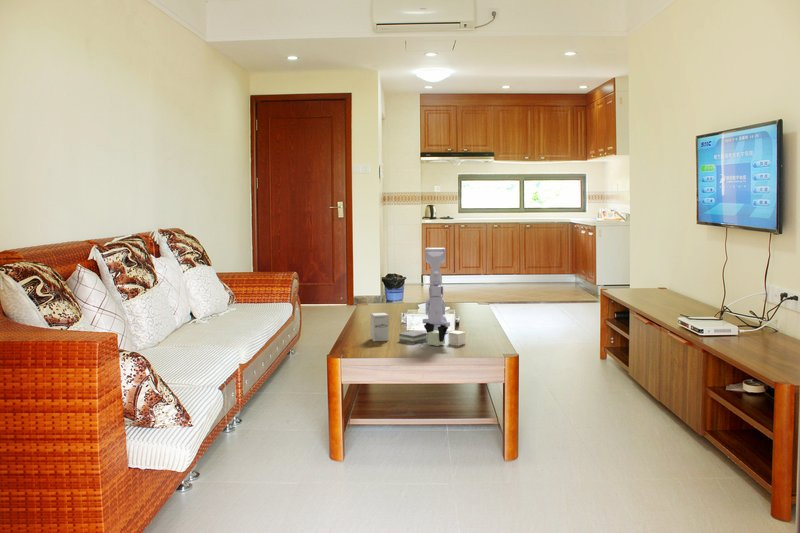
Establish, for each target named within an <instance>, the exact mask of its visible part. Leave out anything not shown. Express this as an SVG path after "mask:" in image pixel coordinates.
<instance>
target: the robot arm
mask: <svg viewBox="0 0 800 533" xmlns="http://www.w3.org/2000/svg"><path fill="white" fill-rule="evenodd" d="M424 250H425V251H424V253H425V254H424V256H425V257H424V258H425V262H426V264H429V266H430V274H429V286H428V298H426V300H425V315H426V316H427V318H422V324H424V325H423V328H424V329H425V331H426V332H424V333H426V335H428V332H430V331H434V330H436V331H439V341H440V342H442V341H443V340H444V336H446V334H449V331H448V329H449V327H451V322H450V321H448V320H447V318H446V316H445V315H446V301H445V299H444V298H443V297H444V286H443V275H442V274H441V272H440V270H441V269H440V267H441V264H444V263H445V262H446V256H447V254H446V248H445V247H426V248H424Z"/></svg>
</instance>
